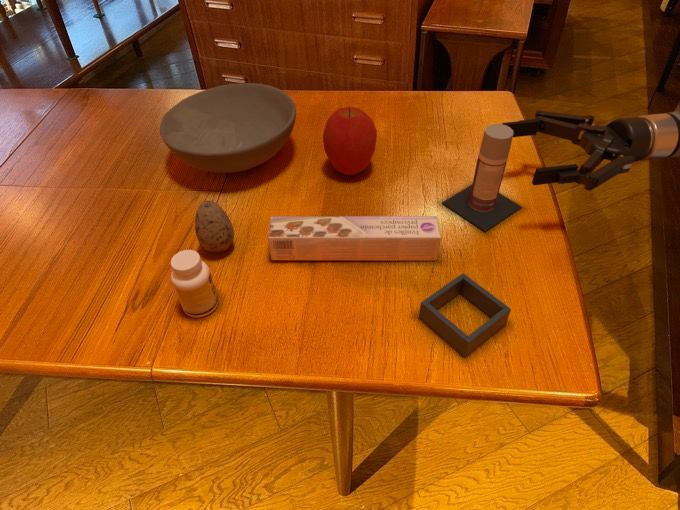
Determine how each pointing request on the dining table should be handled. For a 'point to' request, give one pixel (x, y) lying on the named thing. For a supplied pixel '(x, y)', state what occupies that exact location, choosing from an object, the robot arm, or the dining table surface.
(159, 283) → the dining table surface
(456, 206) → the coaster
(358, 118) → the apple
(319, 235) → the box
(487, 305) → the open box
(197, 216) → the decorative egg
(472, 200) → the container
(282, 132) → the bowl
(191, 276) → the supplement bottle
